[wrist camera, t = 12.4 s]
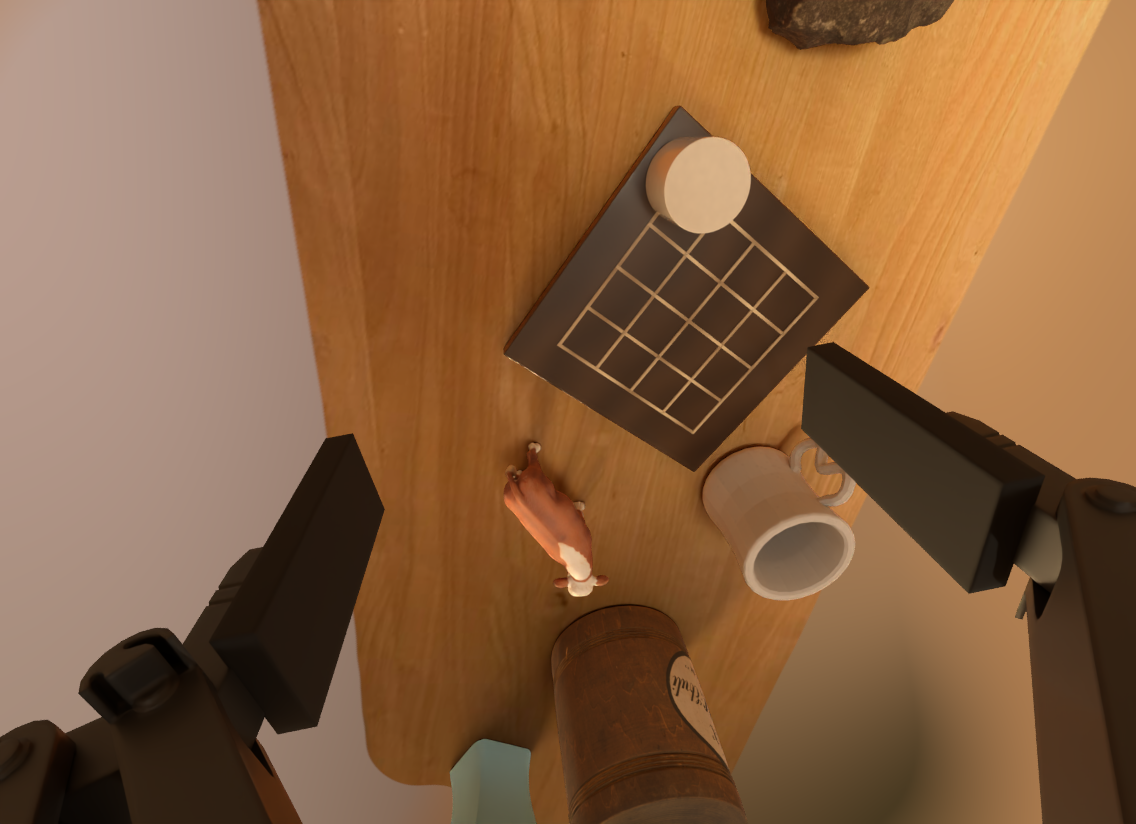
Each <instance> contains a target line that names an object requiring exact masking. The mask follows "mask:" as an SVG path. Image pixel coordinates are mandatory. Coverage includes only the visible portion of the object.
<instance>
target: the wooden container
mask: <svg viewBox="0 0 1136 824" xmlns="http://www.w3.org/2000/svg"><path fill="white" fill-rule="evenodd" d="M551 666H552V676H553V685H554V696H555V707H556V717H557V726H558V734H559V742H560V749H561V756H562V764H563V771H564V780H565V788H566V796H567V803H568V810H569V824H748V823H747V818H746V814H745V811H744V808H743V805H742V802H741V799H740V797H739V794H738V791H737V789H736V786H735V783H734V781H733V779H732V776H731V774H730V771H729V768H728V765H727V762H726V759H725V756H724V753H723V750H722V747H721V744H720V741H719V739H718V736H717V733H716V730H715V727H714V724H713V721H712V718H711V715H710V712H709V709H708V706H707V703H706V700H705V697H704V695H703V692H702V689H701V686H700V684H699V681H698V678H697V676H696V673H695V671H694V668H693V665H692V662H691V660H690V658H689V655H688V652H687V649H686V646H685V644H684V641H683V638H682V636H681V633H680V631H679V629H678V627H677V626H676V624H675V623H674V622H673V621H672V620H671V619H670V618H669V617H667V616H666V615H665V614H663V613H661V612H659V611H657V610H654V609H651V608H647V607H641V606H617V607H611V608H606V609H602V610H599V611H596V612H593V613H591V614H588V615H586V616H584V617H582V618H581V619H579V620H577V621H576V622H575V623H573V624H572V625H570V626H569V627H568V628H567V629H566V630H565V631H564V632H563V633H562V634H561V635H560V636H559V638H558V639H557V641H556V643H555V645H554V647H553V650H552V656H551Z"/></svg>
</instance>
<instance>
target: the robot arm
mask: <svg viewBox="0 0 1136 824" xmlns="http://www.w3.org/2000/svg"><path fill="white" fill-rule="evenodd" d="M801 429H802V430H803V431H804V432H805V433H806V434H807V435H808V436H809V437H810V438H811V439H812V440H813V441H814V442H815V443H816V444H817V445H818V446H819V447H820V448H821V449H822V450H823V451H824V452H825V453H826V454H827V455H828V456H829V457H831V458H832V459H833V460H834V461H835V462H836V463H837V464H838V465H839V466H840V467H841V468H842V469H843V470H844V471H845V472H846V473H847V474H848V475H849V476H850V477H851V478H852V479H853V480H854V481H855V482H856V483H857V484H858V485H859V486H860V487H861V488H862V489H863V490H864V491H865V492H866V493H867V494H868V495H869V496H870V497H871V498H872V499H873V500H874V501H876V503H877V504H878V505H879V506H880V507H881V508H882V509H883V510H884V511H885V512H886V513H887V514H889V516H890V517H891V518H892V519H893V520H894V521H895V522H897V523H898V524H899V525H900V526H901V527H902V528H903V529H904V530H905V531H906V532H907V533H908V534H909V535H910V536H911V537H912V538H913V539H914V540H915V541H916V542H917V543H918V544H919V545H920V546H921V547H922V548H923V549H924V550H925V551H926V552H927V553H928V554H929V555H930V556H931V557H932V558H933V559H934V560H935V561H936V562H937V563H938V564H939V565H940V566H941V567H942V568H943V569H944V570H945V571H946V572H947V573H948V574H949V575H950V576H951V577H952V578H953V579H954V580H955V581H956V582H957V583H958V584H959V585H960V586H962V588H964V589H965V590H966V591H967V592H968V593H974V592H979V591H984V590H989V589H994V588H999V587H1003V586H1005V585H1006V583H1007V580H1008V578H1009V575H1010V572H1011V569H1012V567H1013V564H1015V565H1017V566H1018V567H1019V568H1020V569H1021V570H1022V571H1024V572H1025V573H1026V574H1027V575H1029V576H1030V579H1029V582H1028V584H1027V586H1026V589H1025V591H1024V594H1023V597H1022V599H1021V602H1020V604H1019V607H1018V609H1017V612H1016V616H1015V617H1016V618H1019V619H1023V616H1024V614H1025V612H1027V620H1028V634H1029V647H1030V659H1031V660H1030V661H1031V674H1032V687H1033V700H1034V713H1035V727H1036V741H1037V754H1038V768H1039V781H1040V794H1041V807H1042V821H1043V824H1136V487H1134V486H1131V485H1129V484H1125V483H1121V482H1117V481H1113V480H1109V479H1098V478H1085V479H1084V478H1083V479H1075V478H1074V477H1072V476H1070V475H1069V474H1067V473H1065V472H1063V471H1062V470H1060V469H1059V468H1057V467H1055V466H1054V465H1052V464H1050V463H1049V462H1047V461H1045V460H1044V459H1042V458H1040V457H1039V456H1037V455H1035V454H1034V453H1032V452H1030V451H1029V450H1027V449H1026V448H1024V447H1022V446H1021V445H1016V444H1015V442H1014V441H1012V440H1010V439H1009V438H1007V437H1006V436H1004V435H999V432H997V431H996V430H994V429H992V428H990V427H989V426H987V425H986V424H984V423H982V422H981V421H979V420H976V419H973V418H970V417H967V416H965V415H961V414H958V413H956V412H948V413H945V412H943V411H941V410H940V409H939V408H937V407H935V406H934V405H932V404H931V403H929V402H928V401H926V400H924V399H923V398H921V397H920V396H918V395H916V394H915V393H913V392H912V391H910V390H908V389H907V388H905V387H904V386H902V385H901V384H899V383H897V382H896V381H894V380H893V379H891V378H889V377H888V376H886V375H885V374H883V373H881V372H880V371H878V370H877V369H875V368H873V367H872V366H870V365H869V364H867V363H866V362H864V361H862V360H861V359H859V358H858V357H856V356H854V355H853V354H851V353H850V352H848V351H846V350H845V349H843V348H842V347H840V346H839V345H837V344H835V343H834V342H832V343H827V344H821V345H816V346H811V347H807V359H806V372H805V385H804V399H803V412H802V425H801ZM384 510H385V509H384V507H383V504H382V502H381V500H380V497H379V495H378V492H377V490H376V488H375V485H374V483H373V480H372V478H371V476H370V473H369V471H368V468H367V466H366V464H365V461H364V459H363V456H362V454H361V452H360V449H359V447H358V444H357V442H356V440H355V437H354V435H353V433H352V434H347V435H342V436H336V437H331V438H326V439H325V441H324V442H323V444H322V446H321V448H320V449H319V451H318V453H317V455H316V456H315V458H314V460H313V461H312V464H311V465H310V467H309V469H308V470H307V472H306V474H305V475H304V477H303V479H302V481H301V482H300V484H299V486H298V488H297V489H296V491H295V493H294V494H293V496H292V498H291V500H290V502H289V503H288V505H287V507H286V508H285V510H284V512H283V514H282V515H281V517H280V519H279V520H278V522H277V524H276V526H275V527H274V530H273V531H272V533H271V534H270V536H269V538H268V540H267V541H266V543H265V545H264V546H263V547H261V548H256V549H251V550H249V551H248V552H247V553H245V554H244V555H243V556H242V557H241V558H240V559H239V560H238V561H237V562H236V563H235V564H234V565H233V566H232V567H231V568H230V569H229V571H228V572H227V574H226V576H225V577H224V579H223V580H222V582H221V584H220V585H219V590H217V591H216V592H215V593H214V595H213V596H212V598H211V600H210V601H209V606H206V608H205V609H204V611H203V612H202V614H201V616H200V617H199V619H198V620H197V622H196V624H195V625H194V627H193V628H192V630H191V632H190V633H189V635H188V636H187V638H186V640H185V641H184V643H183V644H182V643H181V642H180V641H179V640H178V638H177V637H176V636H175V635H174V633H172V632H171V631H170V630H169V629H167V628H153V629H150V630H146V631H142V632H139V633H137V634H135V635H133V636H131V637H129V638H127V639H125V640H123V641H121V642H120V643H119V644H117V645H116V646H114V647H113V648H111V649H110V650H108V651H107V652H106V653H104V654H103V655H102V656H101V657H100V658H99V659H98V660H97V661H96V662H95V663H94V664H93V665H92V666H91V667H90V668H89V670H88V671H87V673H86V674H85V676H84V677H83V679H82V680H81V683H80V688H79V695H81V697H82V698H84V699H85V700H86V701H87V702H88V703H89V704H90V705H91V706H92V707H93V708H94V709H95V710H96V711H97V712H98V713H99V714H100V715H101V716H102V717H101V718H99V719H96V720H94V721H92V722H90V723H87V724H85V725H83V726H81V727H79V728H76V729H74V730H72V731H70V732H67V733H64V732H63V731H62V730H61V729H59V727H57V726H56V725H55V724H54V723H52V722H50V721H48V720H41V721H33V722H30V723H27V724H25V725H22V726H20V727H17V728H15V729H13V730H12V731H10V732H8V733H7V734H5V735H3V736H2V737H0V824H302V822H301V820H300V818H299V816H298V814H297V812H296V810H295V808H294V806H293V804H292V802H291V800H290V798H289V796H288V794H287V792H286V790H285V789H284V787H283V785H282V783H281V781H280V779H279V777H278V775H277V773H276V771H275V769H274V767H273V765H272V763H271V761H270V760H269V757H268V755H267V753H266V751H265V750H264V748H263V746H262V745H261V744H260V742H259V741H258V740H257V738H256V737H257V735H258V732H259V730H260V727H261V725H262V722H263V720H264V717H265V718H266V719H267V721H268V722H269V723H270V725H271V726H272V727H273V729H274V730H275V731H276V733H277V734H282V733H286V732H292V731H297V730H301V729H307V728H312V727H316V726H317V725H318V722H319V718H320V715H321V712H322V709H323V705H324V703H325V699H326V696H327V693H328V690H329V686H330V683H331V680H332V677H333V674H334V670H335V667H336V664H337V661H338V657H339V654H340V651H341V648H342V644H343V641H344V638H345V635H346V631H347V628H348V625H349V622H350V619H351V616H352V613H353V609H354V606H355V603H356V600H357V596H358V593H359V590H360V587H361V584H362V580H363V577H364V574H365V571H366V568H367V564H368V561H369V558H370V555H371V551H372V548H373V545H374V542H375V539H376V535H377V532H378V529H379V526H380V523H381V519H382V516H383V513H384Z"/></svg>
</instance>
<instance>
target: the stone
mask: <svg viewBox="0 0 1136 824" xmlns="http://www.w3.org/2000/svg"><path fill="white" fill-rule="evenodd" d="M953 1H954V0H766V7H767V13H768V18H769V27H768V28H769V29H771V30H772V32H773V33H775V34H778V35H780V36H783V37H785V38H786V39H788V40H789V41H790V42H791V43H793V44H794V45H795V46H796V47H797V48H798V49H800V50H801V49H807V48H812V47H816V46H820V45H824V44H832V43H836V44H846V45H858V44H863V43H870V42H876V43H878V44H885V43H888V42H890V41H897V40H898V39H900V38H902V37H904V36H906V35H907V33H908V32H909V31H910V30H911V29H913V28H916V27H918V26H927V25H930V24H932V23H934V22H937V21H938V20H940V19H941V18H942V17H943V15H944V14H945V13H946V11H947V10H948V8H949V7H950V6H951V4H952V3H953Z"/></svg>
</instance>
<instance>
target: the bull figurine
mask: <svg viewBox="0 0 1136 824" xmlns="http://www.w3.org/2000/svg"><path fill="white" fill-rule="evenodd" d="M528 448H529V452H528V453H527V458H528V468H527V469H525V470H524V471H523V472H522V471H521V470H519V471H517V470H516V467H515V466H513V465H509V466H508V468H507V469H506V472H505V473H506V476H507V477H508V481H509V482H508V483H507V484H506V486H505V488H504V500H505V503H506V505H507V507H508V508H509V509H510V510H511V511H512V512H513V513H515V514H516V516H517V517H518V518H519V520H520V521H521V523H522V524H523V525H524V527H525V528H526V529H527V530H528V532H529V533H530V534H531V535H532V536H533V537H534V538H535V539H536V540H537V541H538V542H539V543H540V544H541V546H542V547H543V548H544V549H545V550H546V552H547V553H548V554H549V555H550V556H551V557H552V558H553V559H554V560H556V561H557V562H559V563H561V564H562V565H563V566H564V567H565V568H566V571H567V572H568V578H558V579H555V580H554V581H553V584H554V585H555V586H556V587H558V588H564V587H568V590H569V593H570V594H571V595H573V596H587V595H588V594H590V593H591V592H592V590H593V586H594V585H596V586H602V585H605V584H606V583H608V581H609V578H608V577H607V576H605V575H599V576H597V577H593V575H592V569H593V559H592V551H591V541H592V538H591V534H590V531H589V529H588V527H587V526H586V525H585V520H584V518H583V512H582V510H584V509H585V504H584V503H583V502H580V501H578V502H574V504H573V502H572V501H571V499H570V498H569V497H568V496H567V495H565V494H563V493H562V492H559V491H557V490H555V488H554V485H553V483H552V482H551V481H550V479H549V478H547V477H546V476H545V475H544V474H543V472H542V470H541V467H540V464H539V462H538V460H537V454H536V453H537V452H538V451H540V450H541V445H540V444H539V443H535V444H534V443H533V442H532V443H531V444H529V445H528Z"/></svg>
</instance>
